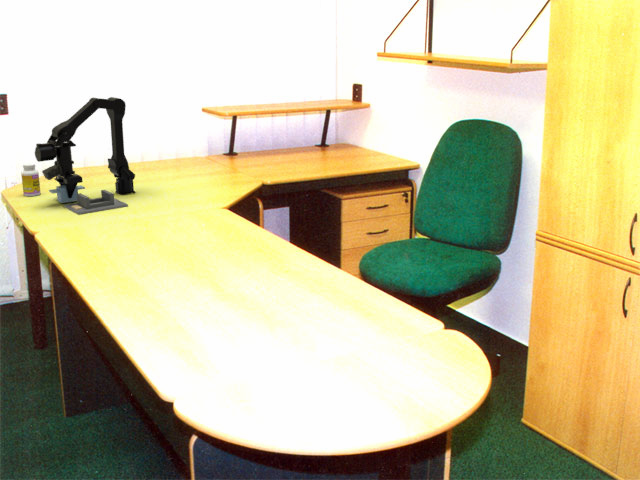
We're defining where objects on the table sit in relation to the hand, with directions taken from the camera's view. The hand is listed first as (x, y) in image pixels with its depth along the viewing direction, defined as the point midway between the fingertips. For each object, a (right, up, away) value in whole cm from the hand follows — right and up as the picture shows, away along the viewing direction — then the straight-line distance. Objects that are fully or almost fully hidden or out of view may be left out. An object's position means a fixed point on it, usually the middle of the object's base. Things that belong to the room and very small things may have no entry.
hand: (67, 196), depth 285 cm
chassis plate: (+13, -4, -5) cm, 14 cm away
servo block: (0, -1, 0) cm, 2 cm away
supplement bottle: (-19, +1, +12) cm, 22 cm away
